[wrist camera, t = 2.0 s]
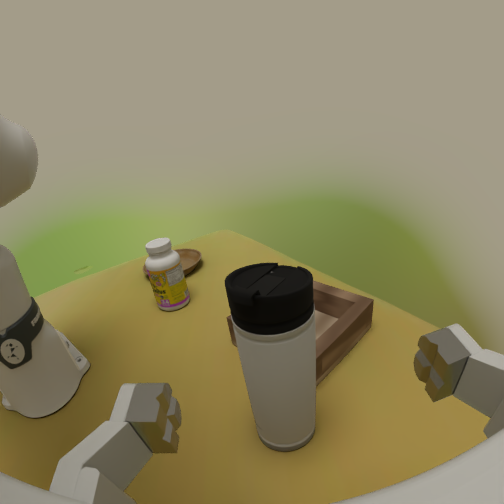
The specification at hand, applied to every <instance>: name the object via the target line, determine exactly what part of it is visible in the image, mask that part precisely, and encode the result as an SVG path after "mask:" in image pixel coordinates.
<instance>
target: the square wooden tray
mask: <svg viewBox="0 0 504 504" xmlns="http://www.w3.org/2000/svg"><path fill="white" fill-rule="evenodd" d="M313 293H314V297H313V299H314V306H315V333H316V386H317V385H318V384H319V383H320V382H321V381H322V380H323V379H324V378H325V377H326V376H327V375H328V374H329V373H330V372H331V371H332V370H333V369H334V368H335V367H336V365H337V364H338V363H339V362H340V361H341V360H342V359H343V358H344V357H345V356H346V355H347V354H348V353H349V351H350V350H351V349H352V348H353V347H354V346H355V345H356V344H357V342H358V341H359V340H360V339H361V338H362V337H363V336H364V334H365V333H366V332H367V331H368V330H369V329H370V327H371V322H372V312H373V301H374V300H373V299H370V298H367V297H363V296H360V295H357V294H354V293H351V292H348V291H344V290H341V289H338V288H335V287H332V286H329V285H325V284H322V283H319V282H316V281H313ZM227 322H228V326H229V330H230V335H231V339H232V343H233V344H234V345H235V346H237V342H236V338H235V333H234V329H233V323H232V320H231V315H230V316H228V317H227Z"/></svg>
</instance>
